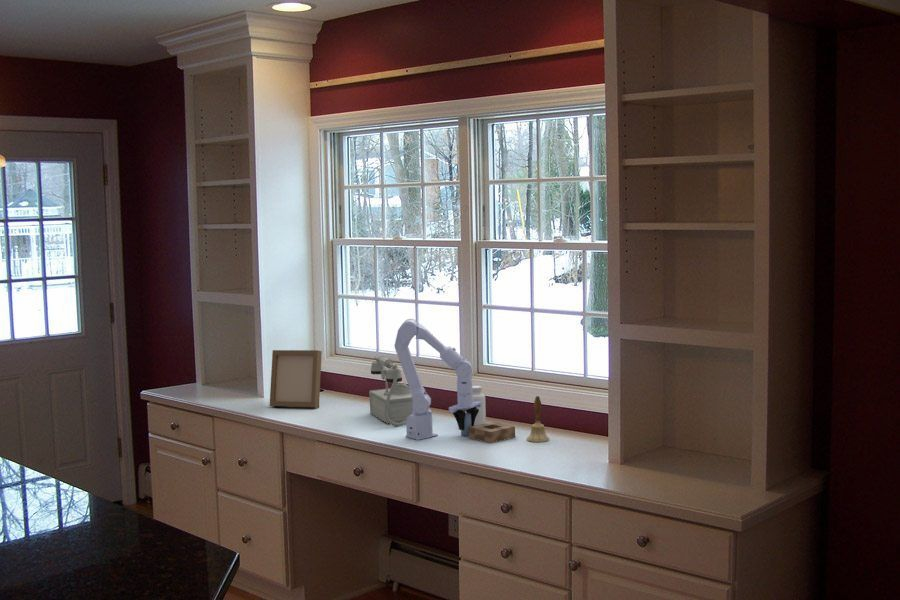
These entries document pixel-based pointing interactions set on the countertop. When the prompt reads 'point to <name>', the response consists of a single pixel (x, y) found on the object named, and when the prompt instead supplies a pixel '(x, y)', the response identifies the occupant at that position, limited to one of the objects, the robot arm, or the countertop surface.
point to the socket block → (491, 432)
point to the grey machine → (390, 394)
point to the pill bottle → (482, 410)
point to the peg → (466, 425)
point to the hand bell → (537, 425)
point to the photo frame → (295, 378)
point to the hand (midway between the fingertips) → (466, 428)
